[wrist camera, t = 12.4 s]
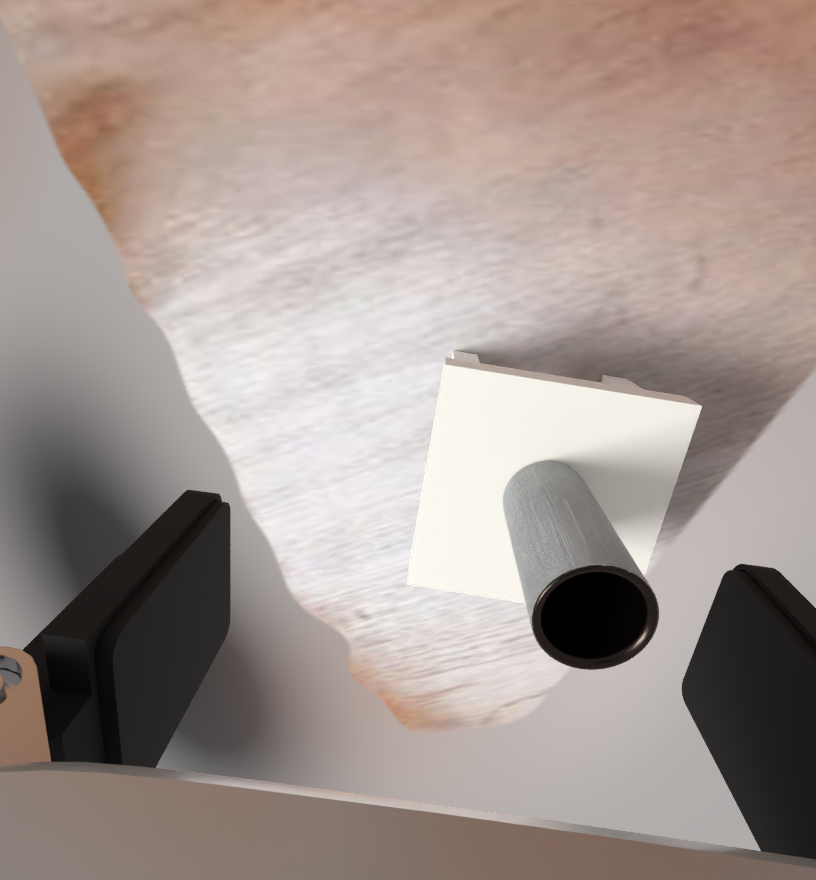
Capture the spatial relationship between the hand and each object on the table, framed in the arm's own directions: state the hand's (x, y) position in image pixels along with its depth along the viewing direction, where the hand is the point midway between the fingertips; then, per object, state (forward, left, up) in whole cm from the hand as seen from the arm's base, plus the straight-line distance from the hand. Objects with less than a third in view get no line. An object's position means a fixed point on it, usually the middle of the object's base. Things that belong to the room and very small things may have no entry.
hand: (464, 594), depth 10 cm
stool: (+6, +6, -27) cm, 29 cm away
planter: (+6, +6, -19) cm, 20 cm away
